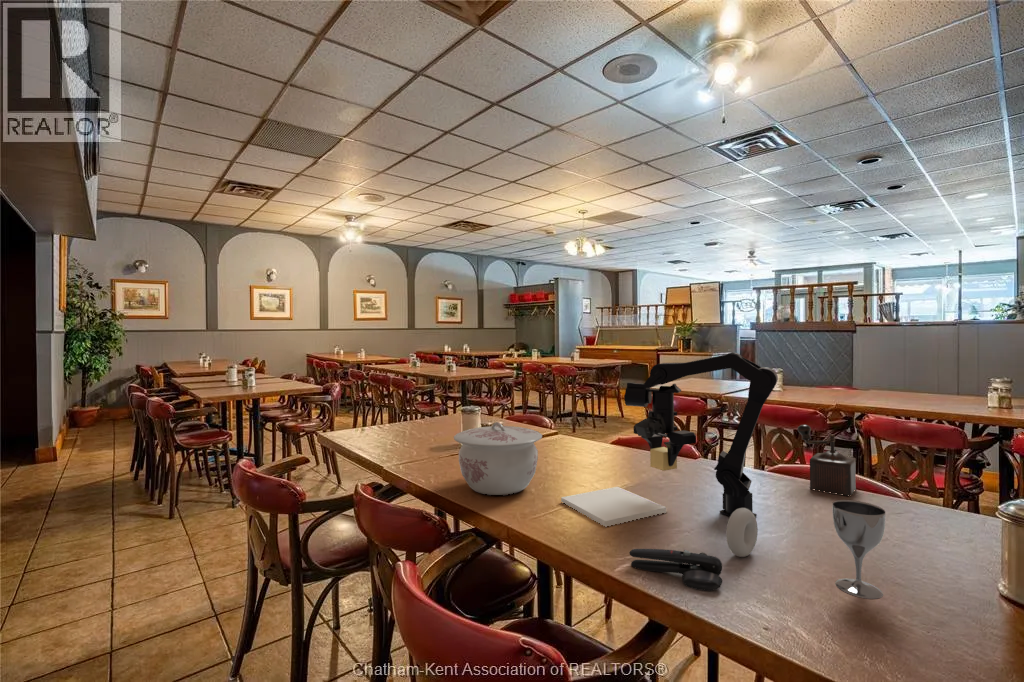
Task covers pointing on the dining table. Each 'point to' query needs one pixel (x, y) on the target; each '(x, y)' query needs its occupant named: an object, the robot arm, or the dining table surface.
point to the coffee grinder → (830, 468)
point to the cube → (661, 459)
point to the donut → (742, 532)
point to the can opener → (682, 566)
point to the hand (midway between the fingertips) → (663, 463)
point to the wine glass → (859, 540)
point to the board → (613, 506)
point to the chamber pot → (498, 458)
